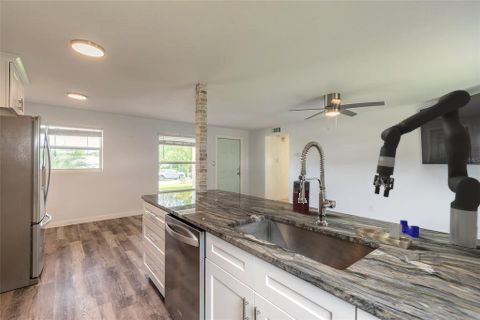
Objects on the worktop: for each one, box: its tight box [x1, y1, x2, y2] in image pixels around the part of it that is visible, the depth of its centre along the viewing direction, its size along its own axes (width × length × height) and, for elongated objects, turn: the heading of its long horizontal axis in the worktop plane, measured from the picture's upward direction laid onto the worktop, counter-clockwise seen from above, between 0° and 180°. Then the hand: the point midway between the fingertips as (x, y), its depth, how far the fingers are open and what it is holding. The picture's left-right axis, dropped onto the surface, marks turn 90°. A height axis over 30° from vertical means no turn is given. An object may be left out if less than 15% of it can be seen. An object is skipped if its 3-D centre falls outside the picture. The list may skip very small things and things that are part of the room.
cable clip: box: [399, 219, 420, 239], centre depth 117 cm, size 12×4×6 cm, turn 169°
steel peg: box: [388, 222, 403, 241], centre depth 103 cm, size 4×4×9 cm
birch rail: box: [354, 226, 413, 250], centre depth 107 cm, size 22×10×3 cm, turn 39°
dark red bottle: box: [292, 174, 311, 215], centre depth 160 cm, size 9×11×28 cm
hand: (381, 195), depth 113 cm, fingers open, 8 cm apart
